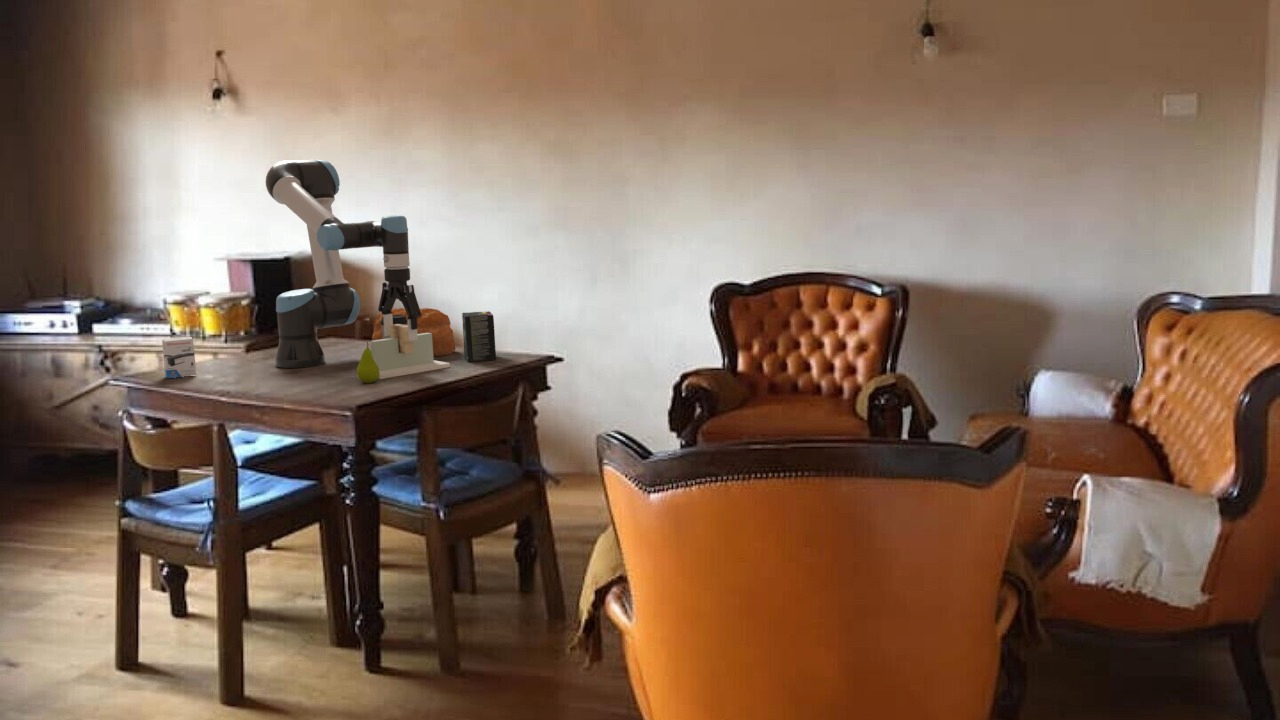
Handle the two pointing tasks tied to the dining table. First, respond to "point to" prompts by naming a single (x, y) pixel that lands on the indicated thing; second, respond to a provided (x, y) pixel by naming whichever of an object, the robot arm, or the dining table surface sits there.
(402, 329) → the wooden block
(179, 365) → the ink box
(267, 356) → the dining table surface
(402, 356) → the slotted board
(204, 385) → the dining table surface
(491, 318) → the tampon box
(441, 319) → the bread
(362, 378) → the fruit
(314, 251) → the robot arm
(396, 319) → the coffee cup
